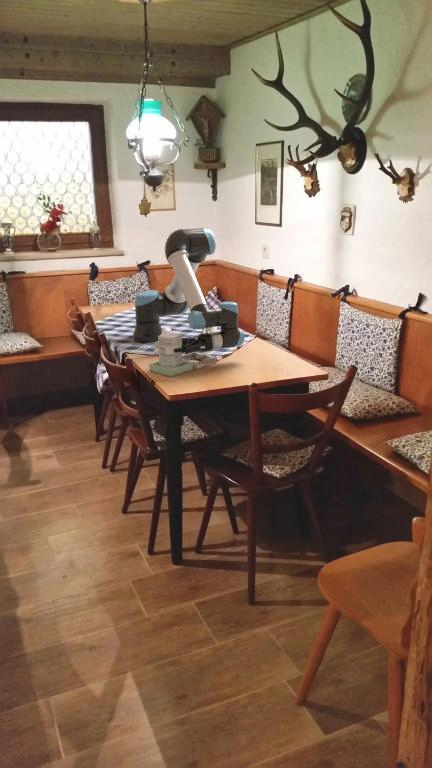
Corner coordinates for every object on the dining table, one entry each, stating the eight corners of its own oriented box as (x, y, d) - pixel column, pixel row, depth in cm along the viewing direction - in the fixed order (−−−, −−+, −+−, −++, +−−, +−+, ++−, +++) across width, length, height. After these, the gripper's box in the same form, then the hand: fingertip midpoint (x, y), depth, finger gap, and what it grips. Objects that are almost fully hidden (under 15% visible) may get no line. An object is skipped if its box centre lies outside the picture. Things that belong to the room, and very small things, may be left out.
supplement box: (167, 361, 251) (166, 331, 247) (183, 363, 248) (182, 333, 244) (158, 365, 245) (157, 335, 241) (174, 368, 242) (173, 337, 238)
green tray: (149, 370, 247) (149, 363, 246) (171, 364, 256) (171, 357, 255) (170, 377, 239) (170, 370, 238) (192, 370, 248) (192, 363, 247)
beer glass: (215, 351, 275) (215, 319, 270) (200, 350, 276) (200, 318, 272) (218, 347, 282) (218, 316, 277) (204, 346, 283) (203, 315, 278)
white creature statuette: (160, 349, 279) (159, 324, 275) (177, 350, 277) (177, 325, 273) (152, 354, 270) (151, 328, 266) (170, 356, 268) (170, 329, 264)
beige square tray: (174, 363, 257) (174, 357, 256) (195, 357, 266) (194, 351, 265) (195, 369, 249) (195, 363, 248) (216, 362, 258) (216, 357, 257)
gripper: (222, 356, 244) (172, 364, 234) (197, 344, 262) (150, 350, 253) (222, 338, 241) (171, 345, 231) (197, 327, 260) (149, 333, 250)
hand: (160, 348), depth 242 cm, fingers closed on supplement box, 10 cm apart
